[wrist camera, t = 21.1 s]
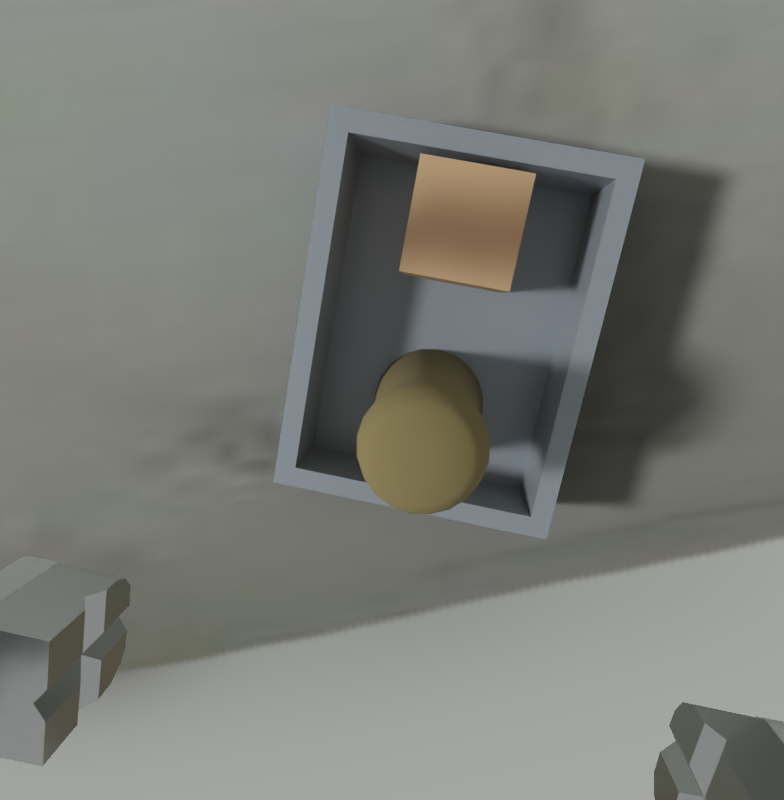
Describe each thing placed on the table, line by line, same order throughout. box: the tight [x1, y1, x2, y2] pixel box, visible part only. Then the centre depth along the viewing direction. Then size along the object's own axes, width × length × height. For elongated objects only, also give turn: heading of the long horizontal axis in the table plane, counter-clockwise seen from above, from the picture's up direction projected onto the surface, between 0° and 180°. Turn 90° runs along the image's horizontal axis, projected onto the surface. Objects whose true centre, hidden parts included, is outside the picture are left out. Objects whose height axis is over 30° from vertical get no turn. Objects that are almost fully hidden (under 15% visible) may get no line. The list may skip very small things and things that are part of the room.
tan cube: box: [399, 153, 536, 293], centre depth 26 cm, size 5×5×5 cm
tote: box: [273, 105, 645, 539], centre depth 28 cm, size 18×14×5 cm
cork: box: [357, 349, 490, 514], centre depth 25 cm, size 6×6×11 cm
